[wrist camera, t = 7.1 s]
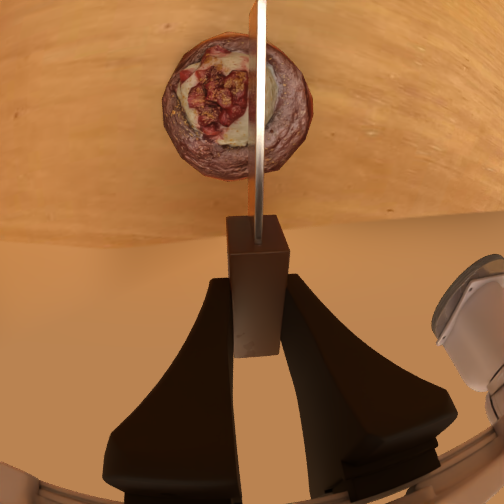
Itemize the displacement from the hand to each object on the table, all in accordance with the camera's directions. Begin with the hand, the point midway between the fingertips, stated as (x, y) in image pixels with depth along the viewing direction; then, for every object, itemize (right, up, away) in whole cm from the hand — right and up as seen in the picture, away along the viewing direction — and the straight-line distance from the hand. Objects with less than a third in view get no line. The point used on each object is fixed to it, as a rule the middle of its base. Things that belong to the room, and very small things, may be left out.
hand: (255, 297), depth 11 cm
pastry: (-1, +9, +4) cm, 10 cm away
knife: (0, +4, -1) cm, 4 cm away
